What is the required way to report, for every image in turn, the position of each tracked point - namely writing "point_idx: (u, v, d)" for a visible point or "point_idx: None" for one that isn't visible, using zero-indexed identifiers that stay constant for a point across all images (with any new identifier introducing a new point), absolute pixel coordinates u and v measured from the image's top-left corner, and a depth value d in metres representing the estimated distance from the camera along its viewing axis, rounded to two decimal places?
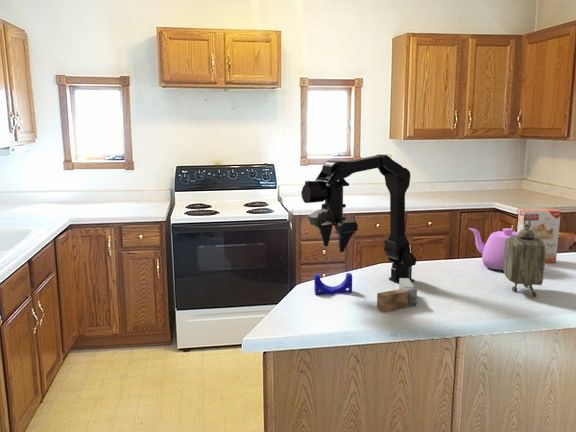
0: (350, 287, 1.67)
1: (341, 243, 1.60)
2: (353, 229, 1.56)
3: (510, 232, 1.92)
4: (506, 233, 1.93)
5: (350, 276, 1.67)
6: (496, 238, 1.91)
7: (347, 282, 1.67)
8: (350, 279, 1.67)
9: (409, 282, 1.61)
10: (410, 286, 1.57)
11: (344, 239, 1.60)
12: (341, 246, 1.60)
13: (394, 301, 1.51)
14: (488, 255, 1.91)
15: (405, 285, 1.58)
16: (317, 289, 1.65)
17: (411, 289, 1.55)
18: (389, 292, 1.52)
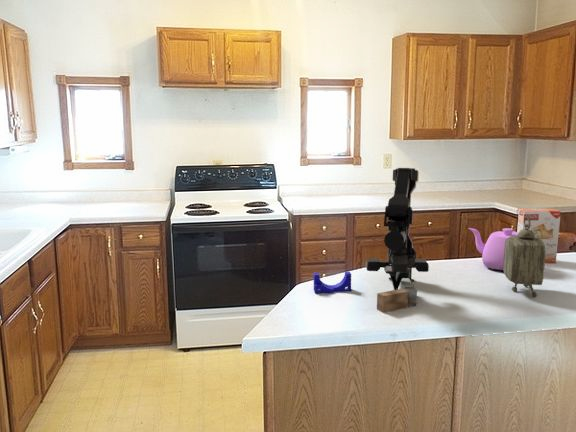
0: (349, 286, 1.69)
1: (399, 282, 1.61)
2: None
3: (510, 232, 1.92)
4: (506, 233, 1.93)
5: (349, 275, 1.68)
6: (496, 238, 1.91)
7: (346, 281, 1.69)
8: (349, 278, 1.69)
9: (409, 282, 1.61)
10: (410, 286, 1.57)
11: None
12: (398, 285, 1.62)
13: (394, 301, 1.51)
14: (488, 255, 1.91)
15: (405, 285, 1.58)
16: (317, 288, 1.67)
17: (411, 289, 1.55)
18: (389, 292, 1.52)
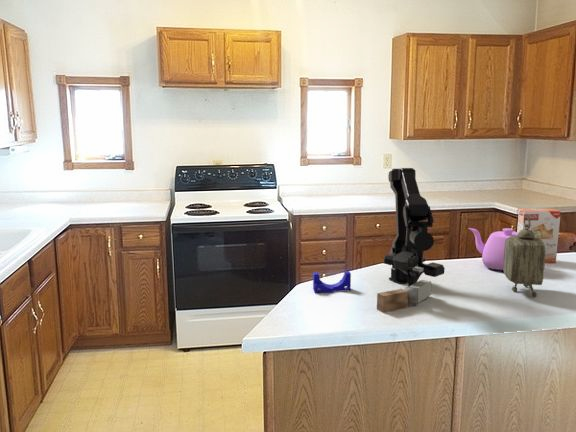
0: (348, 285, 1.70)
1: (413, 282, 1.61)
2: (441, 272, 1.56)
3: (510, 232, 1.92)
4: (506, 233, 1.93)
5: (348, 274, 1.69)
6: (496, 238, 1.91)
7: (346, 280, 1.69)
8: (348, 277, 1.69)
9: (422, 284, 1.59)
10: (415, 287, 1.57)
11: (415, 278, 1.62)
12: None
13: (394, 301, 1.51)
14: (488, 255, 1.91)
15: (412, 285, 1.58)
16: (316, 287, 1.67)
17: (410, 289, 1.55)
18: (389, 292, 1.52)
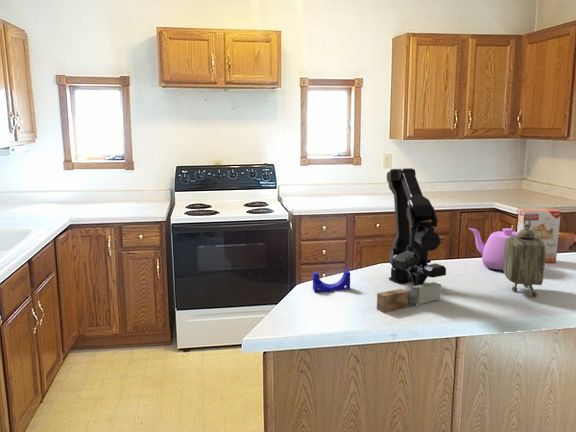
0: (348, 284, 1.70)
1: (418, 283, 1.61)
2: (442, 274, 1.54)
3: (510, 232, 1.92)
4: (506, 233, 1.93)
5: (348, 273, 1.70)
6: (496, 238, 1.91)
7: (345, 279, 1.70)
8: (348, 276, 1.70)
9: (428, 286, 1.57)
10: (417, 288, 1.56)
11: (421, 279, 1.61)
12: None
13: (394, 301, 1.51)
14: (488, 255, 1.91)
15: (416, 286, 1.58)
16: (316, 287, 1.68)
17: (409, 289, 1.55)
18: (389, 292, 1.52)
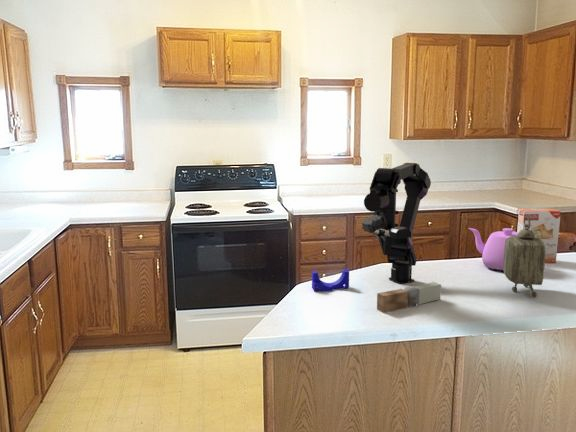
0: (347, 283, 1.72)
1: (386, 246, 1.66)
2: (407, 236, 1.59)
3: (510, 232, 1.92)
4: (506, 233, 1.93)
5: (347, 272, 1.71)
6: (496, 238, 1.91)
7: (344, 278, 1.71)
8: (347, 275, 1.71)
9: (428, 286, 1.57)
10: (417, 288, 1.56)
11: (388, 242, 1.66)
12: (385, 249, 1.67)
13: (394, 301, 1.51)
14: (488, 255, 1.91)
15: (416, 286, 1.58)
16: (316, 286, 1.69)
17: (409, 289, 1.55)
18: (389, 292, 1.52)
